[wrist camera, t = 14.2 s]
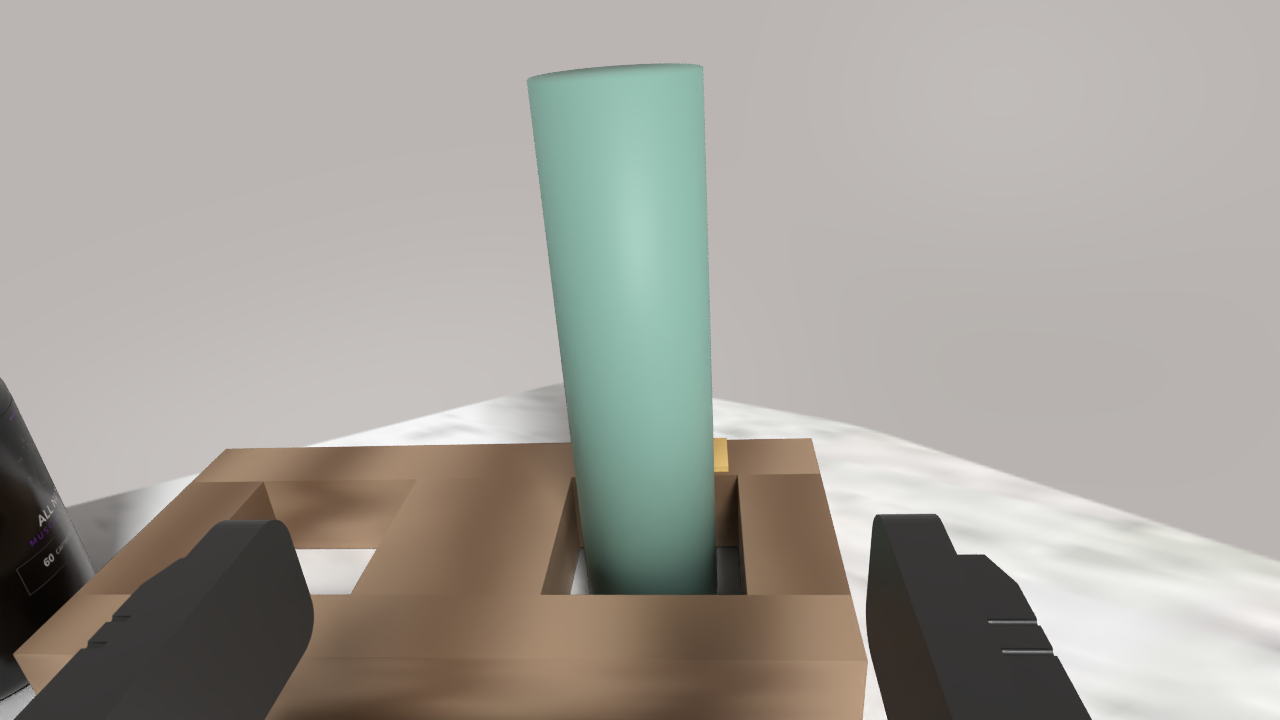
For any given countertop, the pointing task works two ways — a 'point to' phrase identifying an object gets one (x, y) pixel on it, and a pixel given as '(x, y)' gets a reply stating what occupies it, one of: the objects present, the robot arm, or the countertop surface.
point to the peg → (633, 316)
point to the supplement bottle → (31, 544)
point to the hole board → (516, 590)
